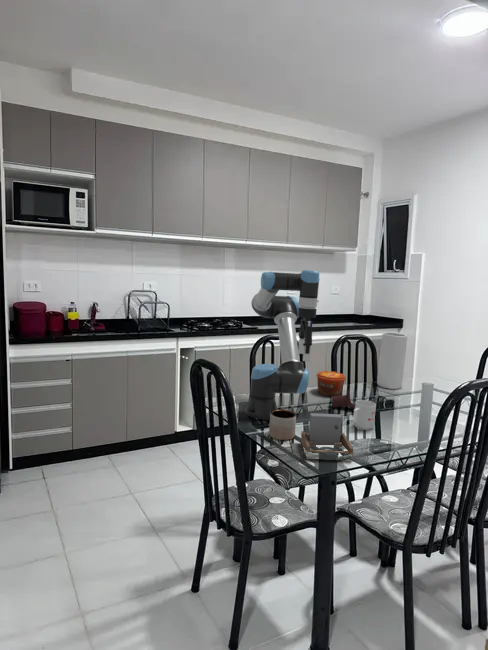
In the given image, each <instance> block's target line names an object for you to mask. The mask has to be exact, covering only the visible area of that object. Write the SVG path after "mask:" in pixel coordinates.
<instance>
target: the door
mask: <svg viewBox="0 0 488 650" xmlns="http://www.w3.org/2000/svg"><path fill="white" fill-rule="evenodd" d="M342 422H343V416H342V415H341V414H340V413H338V414H337V413H336V414H335V413H316V412H313V413H312V412H310V413H309V426H308V441H315V442H316V445H334V442H337V443H340V436H341V433H342V424H343V423H342Z"/></svg>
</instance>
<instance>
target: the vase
mask: <svg viewBox="0 0 488 650" xmlns="http://www.w3.org/2000/svg"><path fill="white" fill-rule="evenodd" d="M407 343H408V335H407V334H404V333H400V332H395V331H394V332H392V331H385V332H382V338H381V344H380V350H379V351H380V352H379V353H380V354H379V358H378V359H379V361H378V370H377V377H376V379H377V380H376V384H377V385H378V386H379V387H380V388H384V389H387V388H388V389H387V390H399V389H401V388H402V386H403V382H404V381H403V379H404V373H405V372H404V371H405V361H406V352H407Z"/></svg>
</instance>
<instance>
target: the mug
mask: <svg viewBox="0 0 488 650" xmlns="http://www.w3.org/2000/svg"><path fill="white" fill-rule="evenodd" d="M354 405H355V409H354V410H353V418H352V420H353V426H355V428H357V429H359V430H361V431H370V430H372V429H373V428H374V426H375V419H376V418H375V416H376V408H377V404H376V403H375V402H373V401H370V400H367V399H365V400H362V399H360V400H359V399H357V400H355V403H354Z"/></svg>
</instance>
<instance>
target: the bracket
mask: <svg viewBox="0 0 488 650" xmlns="http://www.w3.org/2000/svg"><path fill="white" fill-rule="evenodd" d="M361 400H366V398H365V397H363V398H362V399H361ZM331 403H332V408H333V409H335V408H343V407H348V408H350V409H351V410H352V411H354V409H355V404H353V403H352V401H351V395H350V390H349V389H347V390H346V394H343V395H342V394H341V395H340V396H338V392H335V396H332V397H331Z"/></svg>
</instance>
